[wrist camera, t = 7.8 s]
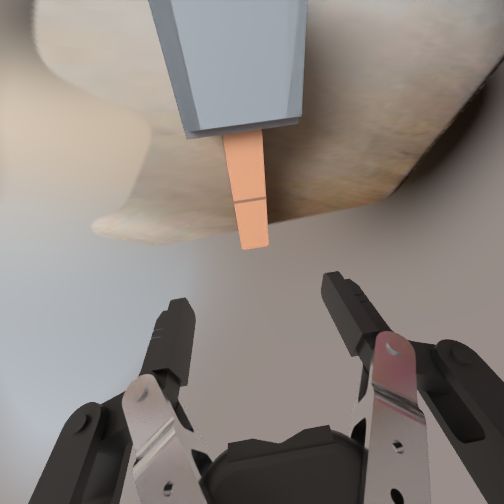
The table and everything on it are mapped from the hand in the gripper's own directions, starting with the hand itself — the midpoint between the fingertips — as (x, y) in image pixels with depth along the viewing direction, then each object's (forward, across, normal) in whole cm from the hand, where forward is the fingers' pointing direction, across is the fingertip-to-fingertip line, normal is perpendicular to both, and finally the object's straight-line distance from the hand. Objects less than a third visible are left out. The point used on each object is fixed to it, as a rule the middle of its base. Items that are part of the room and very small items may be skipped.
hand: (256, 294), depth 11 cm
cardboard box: (+19, -1, -1) cm, 19 cm away
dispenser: (+19, -1, -12) cm, 23 cm away
